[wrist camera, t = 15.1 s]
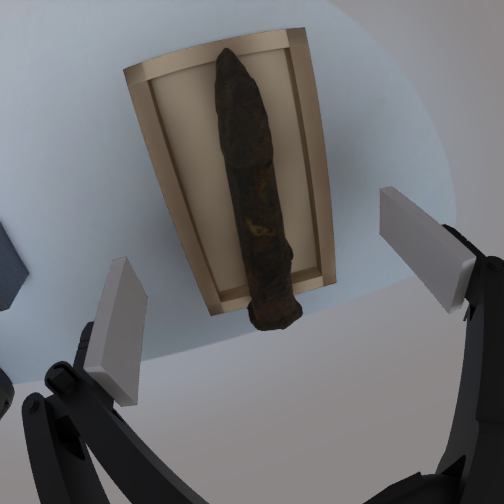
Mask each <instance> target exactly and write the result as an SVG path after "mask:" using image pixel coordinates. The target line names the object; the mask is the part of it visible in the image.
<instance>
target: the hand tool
mask: <svg viewBox="0 0 504 504" xmlns="http://www.w3.org/2000/svg"><path fill="white" fill-rule="evenodd" d="M215 68H216V80H215V83H214V85H215V108H216V112H217V115H218V130H219V141H220V148H221V151H222V153H223V156H224V161H225V168H226V174H227V179H228V185H229V190H230V195H231V200H232V206H233V211H234V217H235V223H236V228H237V233H238V237H239V243H240V248H241V252H242V260H243V263H244V267H245V272H246V277H247V281H248V287H249V294H250V296H251V299H252V300H251V301H250V302H249V304H248V306H247V309H248V310H249V311H248V312H249V318H250V321H251V323H252V324H253V325H254V327H255V328H257V330H261V331H268V330H276V329H282V330H283V329H285V328H287V327H288V326H289V325H291V324H292V323H293V322H294V321H296V320H297V319H299V318H300V317H301V316H302V314H303V312H302V307H301V305H300V304H299V303H298V302H297V301H296V300H295V297H294V295H293V286H292V280H291V266H292V262H291V261H292V260H293V257H294V254H293V250H292V248H291V246H290V244H289V243H288V241H287V239H286V238H285V231H284V223H283V216H282V210H281V206H280V200H279V195H278V189H277V183H276V176H275V169H274V162H273V156H274V151H273V144H272V136H271V131H270V128H269V122H268V115H267V112H266V110H265V107H264V104H263V100H262V97H261V94H260V91H259V88H258V86H257V84H256V82H255V80H254V79H253V78H251V77H250V75H249V73H248V72H247V70H246V68H245V66H244V65H243V64H242V63H241V62H240V60H239V59H238V58H237V57H236V55H235V53H234V52H233V51H232V50H230V49H229V48H224V49H223V50H222V52H221V54H219V55H218V57H217V59H216V67H215Z"/></svg>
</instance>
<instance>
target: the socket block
mask: <svg viewBox="0 0 504 504" xmlns="http://www.w3.org/2000/svg"><path fill="white" fill-rule="evenodd" d="M28 274H29V272H28V271H27V269H26V267H25V266H24V264H23V262H22V261H21V259H20V257H19V256H18V254H17V252H16V250H15V249H14V247H13V245H12V243H11V242H10V240H9V238H8V236H7V234H6V232H5V230H4V229H3V227H2V225H1V223H0V311H3V310H7V309H9V308H10V306H11V304H12V302H13V301H14V299H15V297H16V295H17V293H18V292H19V290H20V288H21V286H22V285H23V283H24V281H25V279H26V278H27V276H28Z"/></svg>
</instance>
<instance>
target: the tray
mask: <svg viewBox="0 0 504 504" xmlns="http://www.w3.org/2000/svg"><path fill="white" fill-rule="evenodd" d="M224 48H229V49H230V50H232V51H233V52H234V53H235V55H236V57H237V58H238V59H239V60H240V62H241V63H242V64H243V65H244V66H245V68H246V70H247V72H248V73H249V75H250V77H251V78H253V79H254V80H255V82H256V84H257V86H258V88H259V91H260V94H261V97H262V100H263V104H264V107H265V110H266V112H267V115H268V122H269V128H270V131H271V136H272V144H273V151H274V156H273V162H274V169H275V176H276V183H277V189H278V195H279V200H280V206H281V210H282V216H283V223H284V231H285V238H286V239H287V241H288V243H289V244H290V246H291V248H292V250H293V254H294V257H293V260H292V261H291V262H292V266H291V280H292V286H293V295H295V294H299V293H302V292H306V291H309V290H313V289H317V288H320V287H324V286H327V285H331V284H334V283H336V264H335V247H334V233H333V220H332V208H331V197H330V187H329V177H328V168H327V159H326V151H325V143H324V136H323V128H322V121H321V115H320V108H319V101H318V95H317V89H316V83H315V77H314V72H313V66H312V61H311V56H310V51H309V46H308V41H307V36H306V31H305V27H303V28H293V29H284V30H276V31H269V32H262V33H256V34H250V35H244V36H239V37H234V38H229V39H224V40H219V41H215V42H211V43H206V44H202V45H198V46H194V47H191V48H187V49H183V50H180V51H176V52H173V53H169V54H166V55H163V56H160V57H157V58H154V59H151V60H148V61H145V62H142V63H139V64H136V65H133V66H131V67H128V68H125V69H123V71H124V75H125V78H126V82H127V85H128V89H129V92H130V96H131V99H132V102H133V105H134V109H135V112H136V115H137V118H138V122H139V125H140V128H141V131H142V134H143V137H144V140H145V143H146V146H147V149H148V152H149V155H150V158H151V161H152V164H153V167H154V170H155V173H156V176H157V179H158V182H159V185H160V187H161V190H162V193H163V196H164V199H165V201H166V204H167V207H168V210H169V212H170V215H171V218H172V220H173V223H174V226H175V228H176V231H177V234H178V236H179V239H180V241H181V244H182V247H183V249H184V252H185V254H186V257H187V259H188V262H189V264H190V267H191V269H192V272H193V274H194V277H195V279H196V282H197V284H198V287H199V289H200V292H201V294H202V296H203V299H204V301H205V304H206V306H207V308H208V311H209V313H210V315H211V316H213V315H217V314H222V313H226V312H230V311H234V310H238V309H242V308H246V307H247V306H248V304H249V302H250V301H251V300H252V299H251V296H250V294H249V287H248V281H247V277H246V272H245V267H244V263H243V260H242V252H241V248H240V243H239V237H238V233H237V228H236V223H235V217H234V211H233V206H232V200H231V195H230V190H229V185H228V179H227V174H226V168H225V161H224V156H223V153H222V151H221V148H220V141H219V130H218V115H217V112H216V108H215V85H214V83H215V80H216V68H215V67H216V59H217V57H218V55H219V54H221V52H222V50H223V49H224Z"/></svg>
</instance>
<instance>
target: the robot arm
mask: <svg viewBox="0 0 504 504" xmlns="http://www.w3.org/2000/svg"><path fill="white" fill-rule="evenodd" d="M380 235H381V236H382V237H383V238H384V239H385V240H386V241H387V242H388V244H389V245H390V246H391V247H392V248H393V249H394V250H395V251H396V252H397V253H398V255H399V256H400V257H401V258H402V259H403V260H404V261H405V262H406V264H407V265H408V266H409V267H410V268H411V269H412V270H413V272H414V273H415V274H416V275H417V276H418V277H419V279H420V280H421V281H422V282H423V283H424V284H425V286H426V287H427V288H428V289H429V290H430V292H431V293H432V294H433V295H434V296H435V298H436V299H437V300H438V301H439V303H440V304H441V305H442V306H443V308H444V309H445V310H446V311H447V313H448V314H450V313H452V312H454V311H456V310H458V309H460V308H461V307H462V305H463V302H464V298H466V299H467V300H468V301H469V306H468V308H467V311H466V314H465V317H464V320H463V321H466V318H467V327H466V340H465V350H464V360H463V367H462V375H461V381H460V388H459V393H458V399H457V404H456V409H455V414H454V419H453V424H452V428H451V432H450V436H449V440H448V444H447V447H446V451H445V453H444V454H443V456H442V458H441V460H440V462H439V464H438V467H437V470H436V473H435V474H428V475H421V473H420V472H418V473H416V474H414V475H412V476H409V477H407V478H405V479H403V480H401V481H399V482H396V483H394V484H392V485H390V486H388V487H387V488H385V489H384V490H383V491H381V492H380V493H378V494H377V495H375V496H374V497H372V498H371V499H370V500H368V501H366V502H365V503H363V504H504V260H502V259H501V258H499V257H495V256H488V257H486V256H485V255H484V254H483V253H482V252H481V251H480V250H478V249H477V248H476V247H475V246H474V245H473V244H472V243H471V242H469V241H467V239H466V238H465V237H464V236H462V235H461V234H460V233H459V232H458V231H457V230H456V229H454V228H452V227H450V226H448V225H446V224H443V225H440V224H439V223H438V222H437V221H436V220H434V219H433V218H432V217H431V216H430V215H428V214H427V213H426V212H425V211H423V210H422V209H421V208H420V207H418V206H417V205H416V204H415V203H413V202H412V201H411V200H409V199H408V198H407V197H406V196H404V195H403V194H402V193H400V192H399V191H398V190H396V189H395V188H394V187H392V186H391V187H386V188H382V189H380ZM146 304H147V295H146V294H145V292H144V290H143V288H142V286H141V284H140V282H139V280H138V278H137V277H136V275H135V273H134V271H133V269H132V267H131V265H130V263H129V261H128V259H127V257H122V258H119V259H116V260H113V262H112V265H111V268H110V271H109V274H108V277H107V280H106V284H105V287H104V290H103V294H102V297H101V300H100V304H99V307H98V311H97V314H96V318H95V321H93V322H88V323H87V325H86V327H85V328H84V330H83V331H82V334H81V337H80V343H79V345H78V350H77V352H76V356H75V360H74V364H73V367H72V366H71V365H70V364H69V363H68V362H65V361H60V362H57V363H55V364H54V365H52V366H51V368H50V369H49V370H48V371H47V373H46V375H45V380H44V381H45V385H46V387H47V388H48V389H50V390H51V391H52V392H53V393H54V394H53V395H51V396H49V397H47V398H44V397H43V396H42V395H41V394H40V393H36V392H35V393H32V394H30V395H29V396H27V397H26V399H25V400H24V402H23V405H22V419H23V426H24V433H25V438H26V444H27V450H28V455H29V460H30V464H31V469H32V473H33V477H34V481H35V485H36V489H37V492H38V496H39V499H40V503H41V504H110V502H109V500H108V498H107V496H106V494H105V491H104V489H103V487H102V485H101V482H100V480H99V477H98V475H97V473H96V470H95V468H94V465H93V463H92V460H91V457H90V455H89V452H88V449H87V446H86V444H87V445H88V447H89V448H90V450H91V451H92V453H93V454H94V456H95V457H96V458H97V460H98V461H99V463H100V464H101V465H102V467H103V468H104V470H105V471H106V472H107V474H108V475H109V476H110V477H111V479H112V480H113V481H114V483H115V484H116V485H117V486H118V487H119V489H120V490H121V491H122V493H123V494H124V495H125V496H126V497H127V498H128V500H129V501H130V502H131V503H132V504H209V503H208V502H206V501H205V500H204V499H203V498H202V497H200V496H199V495H198V494H197V493H196V492H195V491H193V490H192V489H191V488H190V487H189V486H188V485H187V484H186V483H184V482H183V481H182V480H181V479H180V478H179V477H178V476H177V475H176V474H175V473H173V471H172V470H170V469H169V468H168V467H167V466H166V465H165V464H164V463H163V462H162V461H161V460H160V459H159V458H158V457H157V456H156V455H155V454H154V453H153V452H152V450H151V449H150V448H149V447H148V446H147V445H146V444H145V443H144V442H143V441H142V440H141V439H140V438H139V437H138V436H137V434H136V433H135V432H134V431H133V430H132V429H131V428H130V427H129V425H128V424H127V423H126V422H125V421H124V419H123V418H122V417H121V416H120V415H119V414H118V412H117V411H116V410H115V409H114V408H113V404H114V400H115V401H116V402H117V403H118V404H119V405H120V406H121V407H123V406H131V405H137V401H138V385H139V371H140V359H141V348H142V338H143V329H144V320H145V312H146ZM13 397H14V388H13V385H12V383H11V382H10V380H9V379H8V378H7V376H6V375H5V374H4V373H3V372H2V371H1V370H0V420H1V418H2V417H3V415H4V414H5V413H6V412H7V410H8V409H9V407H10V406H11V403H12V400H13Z"/></svg>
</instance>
